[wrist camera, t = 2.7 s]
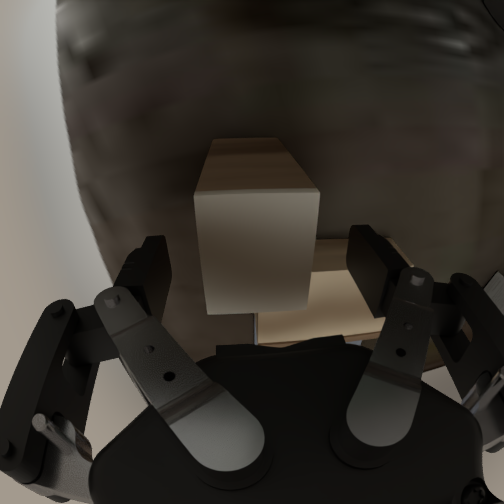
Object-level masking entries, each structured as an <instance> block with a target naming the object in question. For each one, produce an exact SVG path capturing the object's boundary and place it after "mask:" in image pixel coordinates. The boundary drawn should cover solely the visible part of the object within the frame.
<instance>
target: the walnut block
mask: <svg viewBox="0 0 504 504" xmlns="http://www.w3.org/2000/svg"><path fill="white" fill-rule="evenodd" d="M319 199H320V192H319V191H318V189H317V188H316V187H315V185H314V184H313V183H312V181H311V180H310V179H309V177H308V176H307V175H306V173H305V172H304V171H303V169H302V168H301V167H300V166H299V164H298V163H297V162H296V160H295V159H294V158H293V157H292V155H291V154H290V153H289V152H288V150H287V149H286V148H285V147H284V145H283V144H282V143H281V142H280V140H279V139H278V138H226V139H213V141H212V144H211V146H210V149H209V152H208V155H207V158H206V161H205V163H204V166H203V169H202V172H201V175H200V178H199V181H198V184H197V187H196V190H195V193H194V205H195V216H196V225H197V235H198V244H199V252H200V261H201V269H202V277H203V284H204V292H205V299H206V306H207V313H208V314H239V313H260V312H278V311H294V310H306V309H307V302H308V295H309V288H310V280H311V273H312V265H313V257H314V248H315V239H316V230H317V220H318V210H319Z"/></svg>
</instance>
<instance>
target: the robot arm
mask: <svg viewBox="0 0 504 504" xmlns="http://www.w3.org/2000/svg"><path fill="white" fill-rule="evenodd" d="M483 1H484V3H485V5H486V7H487V8H488V10H489V11H490V13H491V15H492V16H493V17H494V19H495V20H496V21H497V23H498V24H499V25H500V26H501V27H502V28H503V29H504V0H483ZM346 265H347V269H348V271H349V273H350V274H351V276H352V278H353V280H354V282H355V283H356V285H357V287H358V289H359V291H360V292H361V294H362V296H363V298H364V300H365V302H366V304H367V305H368V307H369V309H370V311H371V313H372V315H373V317H374V319H375V318H382V317H385V318H386V319H385V321H384V324H383V327H382V329H381V332H380V335H379V337H378V340H377V343H376V345H375V348H374V350H371V349H369V348H366V347H363V346H360V345H356V344H350V343H346V342H345V340H344V337H343V334H341V335H333V336H325V337H317V338H311V339H308V340H305V341H302V342H299V343H296V344H293V345H290V346H286V347H271V346H262V345H254V344H237V345H216V355H214V356H210V357H207V358H205V359H202V360H200V361H198V362H196V363H195V362H194V361H193V360H192V359H191V358H190V357H189V355H188V354H187V353H186V352H185V351H184V350H183V349H182V348H181V346H180V345H179V344H178V343H177V342H176V341H175V340H174V338H173V337H172V336H171V335H170V334H169V332H168V331H167V330H166V329H165V328H164V327H163V325H162V324H161V321H162V317H163V313H164V308H165V304H166V300H167V296H168V292H169V288H170V284H171V279H172V271H171V264H170V259H169V254H168V249H167V244H166V239H165V236H164V235H159V236H147V237H146V239H145V241H144V243H143V245H142V247H141V248H136V249H135V250H134V251H132V252H131V253H130V254H129V255H128V257H127V259H126V261H125V264H124V265H123V267H122V270H121V271H120V273H119V275H118V277H117V279H116V281H115V283H114V285H113V287H111V288H108V289H105V290H103V291H102V292H100V293H99V294H98V295H97V296H96V298H95V300H94V305H91V306H87V307H83V308H79V309H75V306H74V304H73V303H72V302H71V301H70V300H67V299H61V300H57V301H55V302H53V303H51V304H50V305H48V306H47V307H46V308H45V310H44V311H43V313H42V315H41V317H40V319H39V320H38V322H37V325H36V327H35V328H34V330H33V332H32V334H31V336H30V338H29V340H28V342H27V345H26V347H25V349H24V351H23V353H22V355H21V358H20V360H19V362H18V365H17V367H16V369H15V371H14V374H13V376H12V379H11V381H10V384H9V386H8V389H7V391H6V394H5V397H4V399H3V402H2V405H1V408H0V470H1V471H2V472H4V473H5V474H7V475H8V476H10V477H12V478H13V479H14V480H15V481H16V482H18V483H20V484H21V485H23V486H25V487H26V488H28V489H30V490H32V491H34V492H35V493H37V494H39V495H42V496H45V497H47V498H49V499H51V500H53V501H55V502H60V503H64V502H67V501H69V500H70V499H72V500H76V501H80V502H84V503H89V504H504V502H503V501H502V500H500V499H498V498H497V497H496V496H494V495H493V494H492V493H491V492H490V491H489V489H488V488H487V486H486V484H485V481H484V477H483V467H482V452H483V451H487V452H490V453H495V452H497V451H499V450H500V449H502V448H503V447H504V315H503V314H502V313H501V311H500V310H499V309H498V307H497V306H496V305H495V303H494V302H493V301H492V300H491V298H490V297H489V296H488V295H487V293H486V292H485V291H484V290H483V288H482V287H481V286H480V285H479V284H478V282H477V281H476V280H475V279H474V278H472V277H471V276H469V275H466V274H463V273H455V274H453V275H452V276H451V278H450V281H449V283H448V284H447V283H439V282H434V280H433V277H432V276H431V275H430V274H429V273H428V272H427V271H425V270H423V269H420V268H417V267H410V266H409V264H408V263H407V262H406V261H405V260H404V258H403V257H402V256H401V255H400V254H399V253H398V251H397V250H396V249H395V248H394V247H393V245H392V244H391V243H390V242H389V241H388V240H387V239H385V238H384V237H382V236H380V235H377V234H376V233H375V231H374V230H373V229H372V228H371V227H370V226H369V225H352V226H351V228H350V232H349V239H348V246H347V253H346ZM465 320H466V321H467V322H468V324H469V325H470V327H471V329H472V332H473V338H472V341H471V343H470V342H469V340H468V338H467V337H466V335H465V333H464V332H463V330H462V329H461V328H462V326H463V324H464V322H465ZM430 336H431V338H432V340H433V342H434V344H435V346H436V347H437V349H438V351H439V353H440V355H441V357H442V359H443V361H444V363H445V365H446V367H447V369H448V371H449V373H450V375H451V377H452V379H453V381H454V384H455V386H456V388H457V390H458V392H459V394H460V397H461V399H462V403H461V404H459V403H457V402H456V401H454V400H453V399H451V398H449V397H448V396H446V395H444V394H443V393H441V392H439V391H438V390H436V389H435V388H433V387H431V386H429V385H428V384H427V383H425V382H423V381H422V380H421V377H422V373H423V368H424V364H425V359H426V354H427V349H428V344H429V339H430ZM64 357H65V360H64ZM115 358H119V359H120V361H121V363H122V365H123V366H124V368H125V370H126V371H127V373H128V375H129V376H130V378H131V380H132V381H133V383H134V384H135V386H136V388H137V389H138V391H139V393H140V394H141V396H142V397H143V399H144V401H145V402H146V404H147V405H148V407H147V408H146V409H145V410H144V411H143V412H141V414H139V415H138V416H137V417H136V418H135V419H134V420H133V421H132V422H131V423H130V424H129V425H128V426H127V427H126V428H124V429H123V430H122V431H121V432H120V433H119V434H118V435H117V436H116V437H115V438H114V439H113V440H112V441H111V442H109V443H108V444H107V445H106V446H105V447H104V448H103V449H102V450H101V451H100V452H99V453H98V454H97V455H96V457H95V458H94V460H93V459H92V448H91V444H90V442H89V440H88V439H87V438H86V437H85V436H84V431H85V426H86V420H87V416H88V410H89V406H90V401H91V396H92V393H93V388H94V384H95V380H96V376H97V372H98V368H99V364H100V362H101V361H106V360H110V359H115ZM63 360H64V363H63ZM62 364H63V366H62Z"/></svg>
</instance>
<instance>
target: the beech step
mask: <svg viewBox="0 0 504 504" xmlns="http://www.w3.org/2000/svg"><path fill="white" fill-rule="evenodd" d="M385 239H387V240H388V241H389V242H390V243H391V244H392V245H393V247H394V248H395V249H396V250H397V251H398V253H399V254H400V255H401V256H402V257H403V258H404V260H405V261H406V262H407V263H408V264H409V266H410V267H413V266H414V265H413V264H412V263H411V262H410V260H409V259H408V258H407V257H406V255H405V254H404V253H403V252H402V251H401V249H400V248H399V247H398V246H397V245H396V243H395V242H394V241H393V240H392V239H391V238H385ZM347 246H348V239H322V240H315V248H314V257H313V265H312V273H311V280H310V288H309V295H308V302H307V309H306V310H294V311H278V312H260V313H254V315H255V325H256V335H257V345H262V346H271V347H286V346H290V345H293V344H296V343H299V342H302V341H305V340H308V339H311V338H317V337H325V336H333V335H341V334H343V337H344V340H345V342H352V341H360V340H367V339H373V338H378V337H379V335H380V332H381V329H382V327H383V324H384V321H385V319H386V318H385V317H382V318H375V319H374V317H373V315H372V313H371V311H370V309H369V307H368V305H367V304H366V302H365V300H364V298H363V296H362V294H361V292H360V291H359V289H358V287H357V285H356V283H355V282H354V280H353V278H352V276H351V274H350V273H349V271H348V269H347V265H346V253H347Z"/></svg>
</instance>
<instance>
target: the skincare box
mask: <svg viewBox="0 0 504 504" xmlns="http://www.w3.org/2000/svg"><path fill="white" fill-rule="evenodd" d="M483 290H484V291H485V292H486V293H487V295H488V296H489V297H490V298H491V300H492V301H493V302H494V303H495V305H496V306H497V307H498V309H499V310H500V311H501V313H502V314H503V315H504V277H503V276H502V275H501V274H500V273H499V272H497V273H496V274H495V275H494V276H493V278H492V279H491V280H490V282H489V283H488V284H487V285H486V287H485V288H484V289H483Z"/></svg>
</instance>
